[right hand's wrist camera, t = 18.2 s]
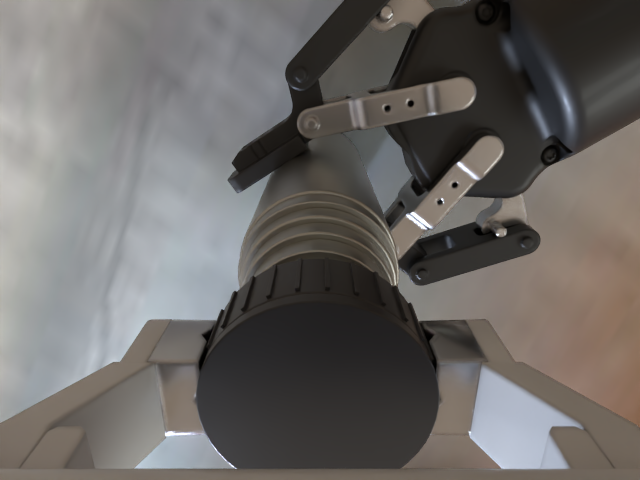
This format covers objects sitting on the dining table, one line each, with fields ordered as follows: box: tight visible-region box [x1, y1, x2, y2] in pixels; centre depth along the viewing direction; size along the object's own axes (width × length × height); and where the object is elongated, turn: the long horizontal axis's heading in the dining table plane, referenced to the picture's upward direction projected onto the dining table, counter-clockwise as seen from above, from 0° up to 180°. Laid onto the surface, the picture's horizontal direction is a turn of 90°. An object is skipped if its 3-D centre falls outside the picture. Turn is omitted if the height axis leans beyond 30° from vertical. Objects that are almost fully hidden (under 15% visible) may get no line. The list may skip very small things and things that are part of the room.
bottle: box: [238, 133, 399, 288], centre depth 18 cm, size 5×5×19 cm
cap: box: [196, 257, 440, 469], centre depth 9 cm, size 5×5×2 cm
